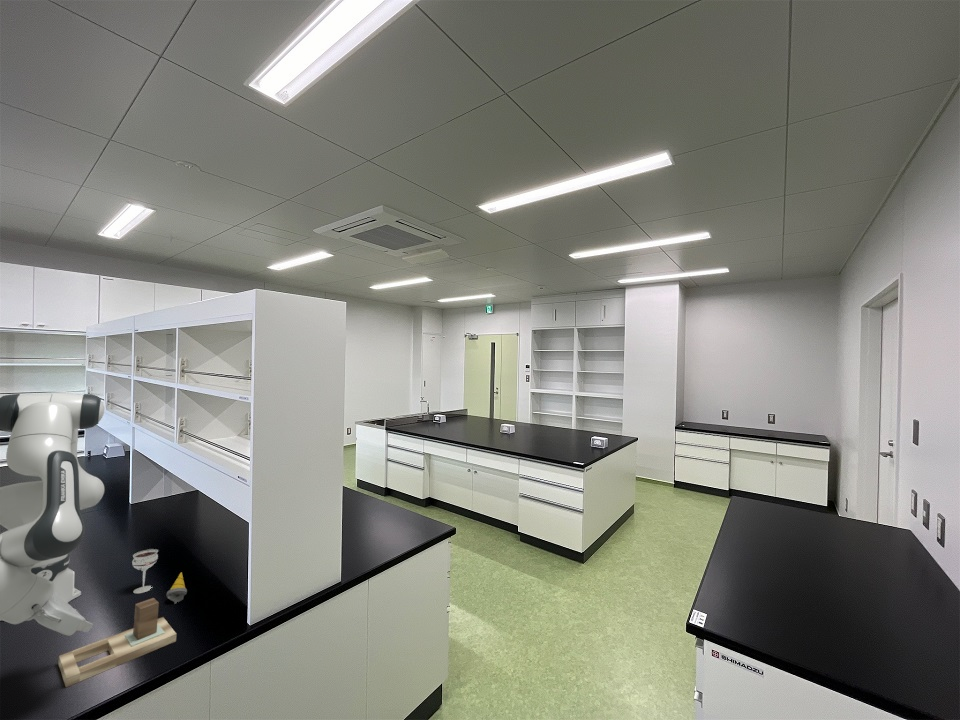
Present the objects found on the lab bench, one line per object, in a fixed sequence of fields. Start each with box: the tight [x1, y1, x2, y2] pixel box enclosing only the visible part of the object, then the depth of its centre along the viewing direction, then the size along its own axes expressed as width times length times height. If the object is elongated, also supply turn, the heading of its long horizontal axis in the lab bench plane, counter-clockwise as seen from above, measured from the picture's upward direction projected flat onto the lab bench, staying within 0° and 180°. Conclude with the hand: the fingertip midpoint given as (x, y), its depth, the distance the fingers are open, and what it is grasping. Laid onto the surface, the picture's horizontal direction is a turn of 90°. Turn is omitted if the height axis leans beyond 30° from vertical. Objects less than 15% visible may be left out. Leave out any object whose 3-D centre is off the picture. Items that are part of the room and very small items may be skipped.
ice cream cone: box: [165, 571, 188, 605], centre depth 128 cm, size 5×5×10 cm
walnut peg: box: [133, 597, 160, 640], centre depth 107 cm, size 4×4×8 cm
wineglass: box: [131, 548, 159, 594], centre depth 133 cm, size 7×7×12 cm
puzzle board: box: [57, 616, 177, 688], centre depth 103 cm, size 12×21×2 cm, turn 143°
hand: (82, 621), depth 97 cm, fingers open, 8 cm apart
